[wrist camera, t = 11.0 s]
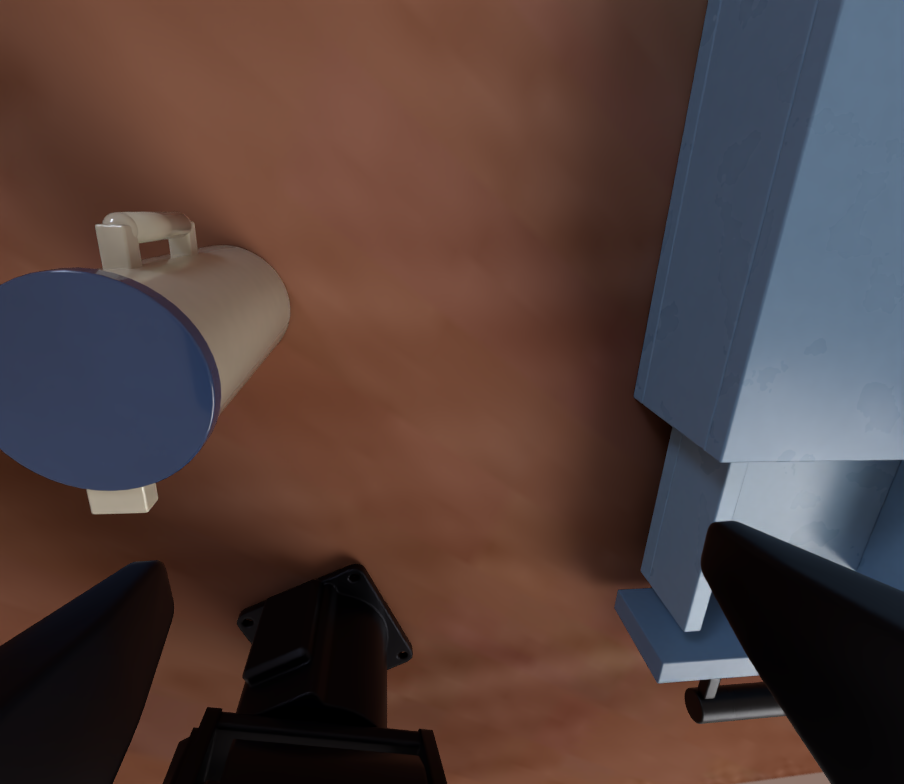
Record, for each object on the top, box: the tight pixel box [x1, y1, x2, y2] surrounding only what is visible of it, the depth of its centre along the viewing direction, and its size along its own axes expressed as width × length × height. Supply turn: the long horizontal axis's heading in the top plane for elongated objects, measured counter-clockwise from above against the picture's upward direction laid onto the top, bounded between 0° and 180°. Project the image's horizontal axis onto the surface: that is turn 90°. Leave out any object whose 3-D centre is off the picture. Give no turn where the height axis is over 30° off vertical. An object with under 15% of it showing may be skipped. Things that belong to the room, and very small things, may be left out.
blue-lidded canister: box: [0, 212, 290, 514], centre depth 14 cm, size 6×5×10 cm
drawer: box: [614, 427, 904, 724], centre depth 22 cm, size 20×14×4 cm
